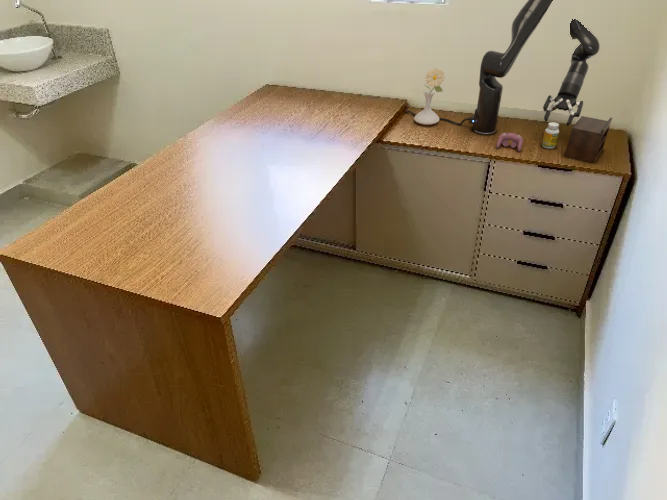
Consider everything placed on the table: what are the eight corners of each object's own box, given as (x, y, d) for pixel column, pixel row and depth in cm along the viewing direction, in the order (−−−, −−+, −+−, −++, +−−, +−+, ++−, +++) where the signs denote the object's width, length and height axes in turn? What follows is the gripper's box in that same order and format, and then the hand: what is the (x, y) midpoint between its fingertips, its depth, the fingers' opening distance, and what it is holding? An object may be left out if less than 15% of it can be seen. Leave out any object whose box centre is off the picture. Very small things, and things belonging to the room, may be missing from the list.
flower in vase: (408, 122, 232) (412, 66, 217) (424, 115, 238) (429, 61, 223) (431, 130, 224) (436, 73, 209) (447, 123, 230) (453, 67, 215)
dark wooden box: (564, 156, 200) (573, 123, 192) (574, 143, 209) (582, 112, 201) (593, 163, 195) (603, 130, 187) (602, 149, 204) (612, 117, 196)
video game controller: (520, 152, 207) (525, 135, 206) (520, 151, 203) (524, 134, 202) (496, 148, 211) (500, 131, 209) (495, 147, 207) (499, 130, 205)
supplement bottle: (547, 142, 211) (552, 120, 205) (558, 146, 207) (564, 124, 202) (538, 145, 208) (543, 123, 203) (549, 150, 205) (555, 127, 199)
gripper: (589, 94, 206) (574, 130, 205) (553, 88, 213) (539, 123, 212) (589, 84, 199) (574, 122, 199) (553, 78, 206) (538, 115, 205)
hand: (556, 122), depth 205 cm, fingers open, 8 cm apart
